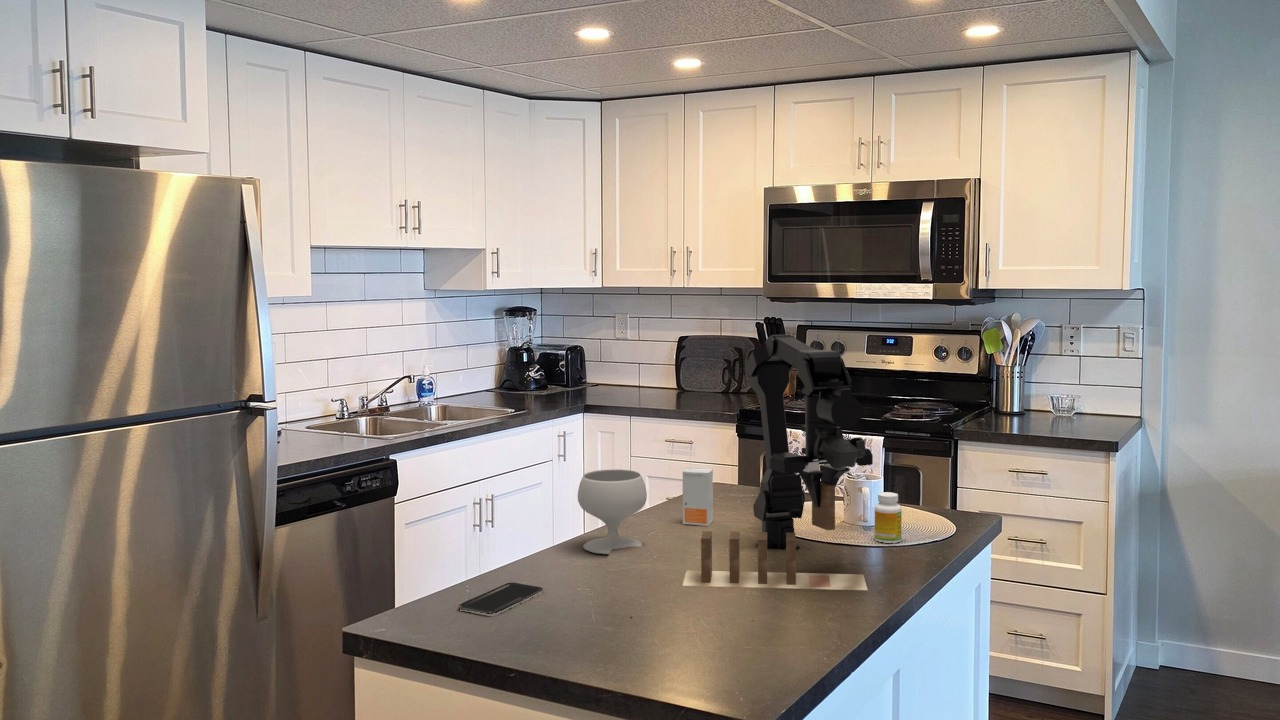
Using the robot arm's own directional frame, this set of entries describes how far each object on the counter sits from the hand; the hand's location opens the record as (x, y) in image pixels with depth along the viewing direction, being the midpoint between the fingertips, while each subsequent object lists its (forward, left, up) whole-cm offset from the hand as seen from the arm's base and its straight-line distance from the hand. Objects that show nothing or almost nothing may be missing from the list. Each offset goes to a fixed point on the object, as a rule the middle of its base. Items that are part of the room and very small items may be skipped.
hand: (821, 506), depth 191 cm
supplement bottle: (-12, +27, -13) cm, 33 cm away
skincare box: (-45, +2, -13) cm, 47 cm away
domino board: (-1, -10, -13) cm, 17 cm away
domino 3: (-2, -12, -12) cm, 17 cm away
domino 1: (-8, -20, -12) cm, 25 cm away
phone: (-19, -55, -14) cm, 60 cm away
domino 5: (0, 0, -4) cm, 4 cm away
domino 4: (+1, -8, -12) cm, 14 cm away
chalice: (-38, -23, -13) cm, 46 cm away
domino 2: (-5, -16, -12) cm, 21 cm away
